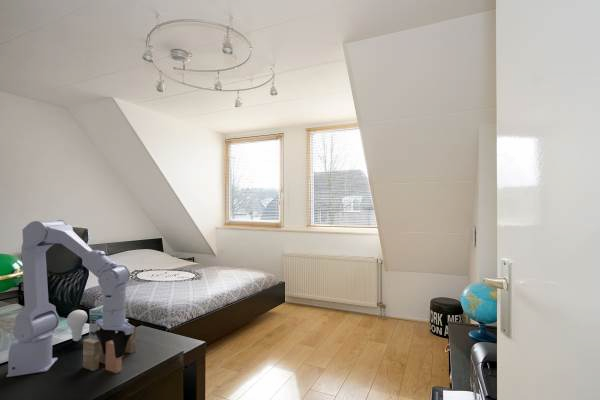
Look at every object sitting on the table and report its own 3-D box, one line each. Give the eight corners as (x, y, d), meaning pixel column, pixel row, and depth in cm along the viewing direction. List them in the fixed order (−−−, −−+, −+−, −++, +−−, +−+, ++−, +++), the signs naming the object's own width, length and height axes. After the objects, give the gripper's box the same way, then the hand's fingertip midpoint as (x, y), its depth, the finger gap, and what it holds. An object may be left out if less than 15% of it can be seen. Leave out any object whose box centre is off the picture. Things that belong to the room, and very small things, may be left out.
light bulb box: (103, 341, 111) (104, 310, 111) (87, 339, 112) (88, 309, 113) (126, 329, 121) (126, 302, 122) (111, 328, 123) (111, 301, 123)
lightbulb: (75, 337, 114) (75, 307, 114) (91, 337, 114) (91, 307, 114) (61, 344, 108) (62, 313, 108) (78, 344, 108) (79, 313, 108)
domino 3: (116, 373, 89) (116, 345, 89) (105, 369, 91) (105, 342, 91) (121, 370, 90) (122, 343, 91) (110, 366, 93) (111, 339, 93)
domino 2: (106, 364, 94) (107, 338, 94) (96, 361, 96) (96, 335, 96) (111, 362, 95) (112, 336, 96) (101, 359, 98) (102, 333, 98)
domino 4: (130, 353, 101) (131, 328, 101) (120, 350, 103) (121, 326, 104) (135, 351, 103) (135, 327, 103) (125, 348, 105) (125, 324, 105)
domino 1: (93, 370, 90) (93, 343, 91) (82, 367, 93) (83, 340, 93) (98, 368, 92) (99, 341, 92) (88, 364, 94) (88, 338, 94)
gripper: (143, 307, 92) (142, 353, 91) (111, 301, 98) (111, 344, 98) (120, 314, 85) (120, 364, 85) (88, 307, 92) (87, 354, 91)
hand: (113, 354), depth 91 cm, fingers closed on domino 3, 5 cm apart
